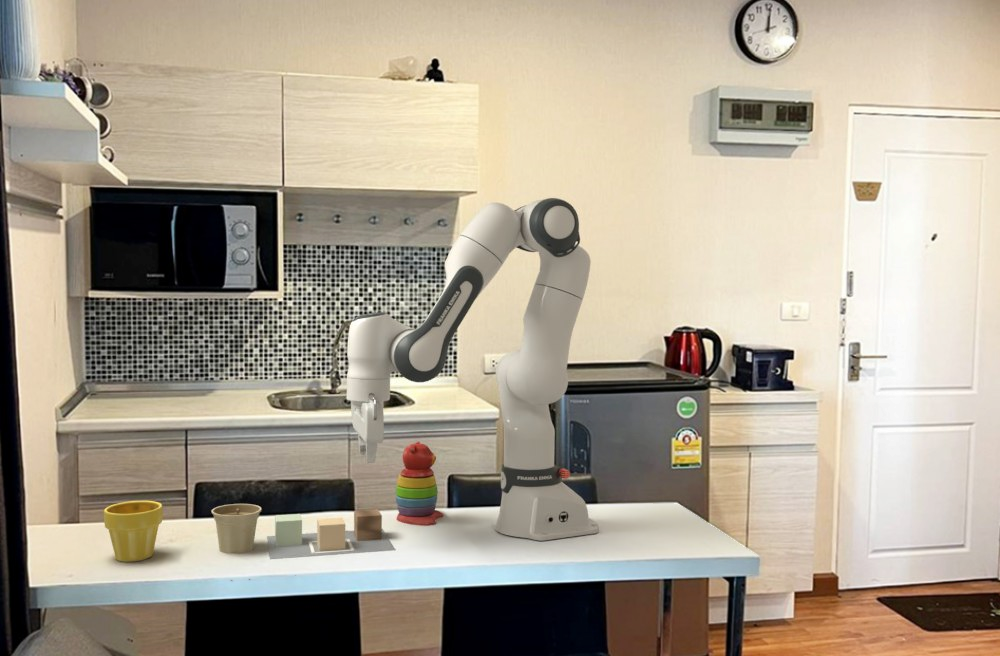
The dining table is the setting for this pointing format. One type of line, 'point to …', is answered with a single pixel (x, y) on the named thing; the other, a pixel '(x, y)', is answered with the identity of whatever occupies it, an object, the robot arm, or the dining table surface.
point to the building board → (313, 537)
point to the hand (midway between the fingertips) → (367, 458)
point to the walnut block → (367, 525)
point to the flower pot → (236, 527)
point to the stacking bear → (417, 487)
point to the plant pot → (133, 528)
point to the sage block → (288, 530)
